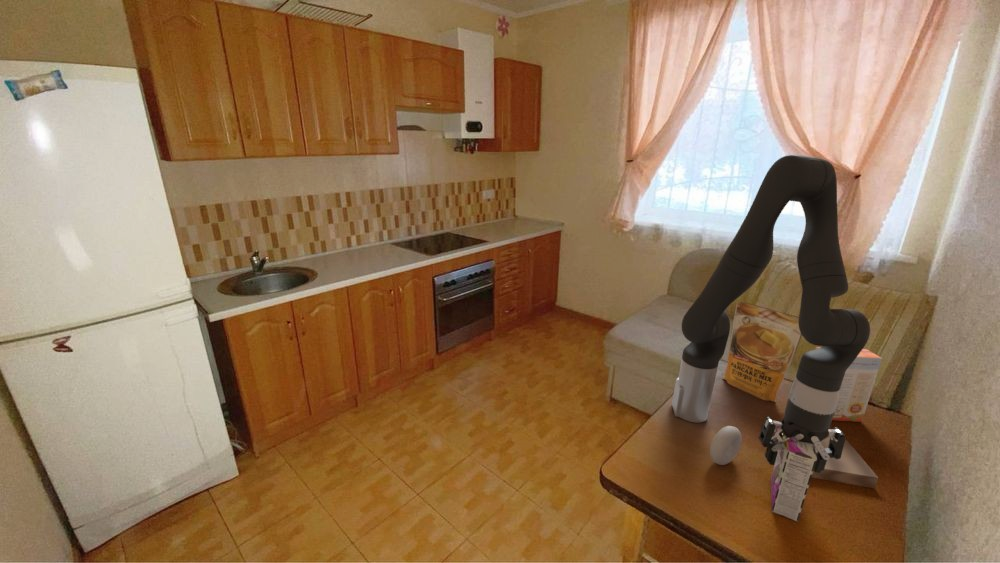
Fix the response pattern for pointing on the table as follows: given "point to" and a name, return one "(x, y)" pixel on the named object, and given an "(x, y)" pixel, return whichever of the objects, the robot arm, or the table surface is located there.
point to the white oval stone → (725, 445)
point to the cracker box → (857, 387)
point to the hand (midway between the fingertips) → (792, 466)
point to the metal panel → (846, 467)
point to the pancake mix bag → (761, 349)
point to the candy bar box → (792, 478)
